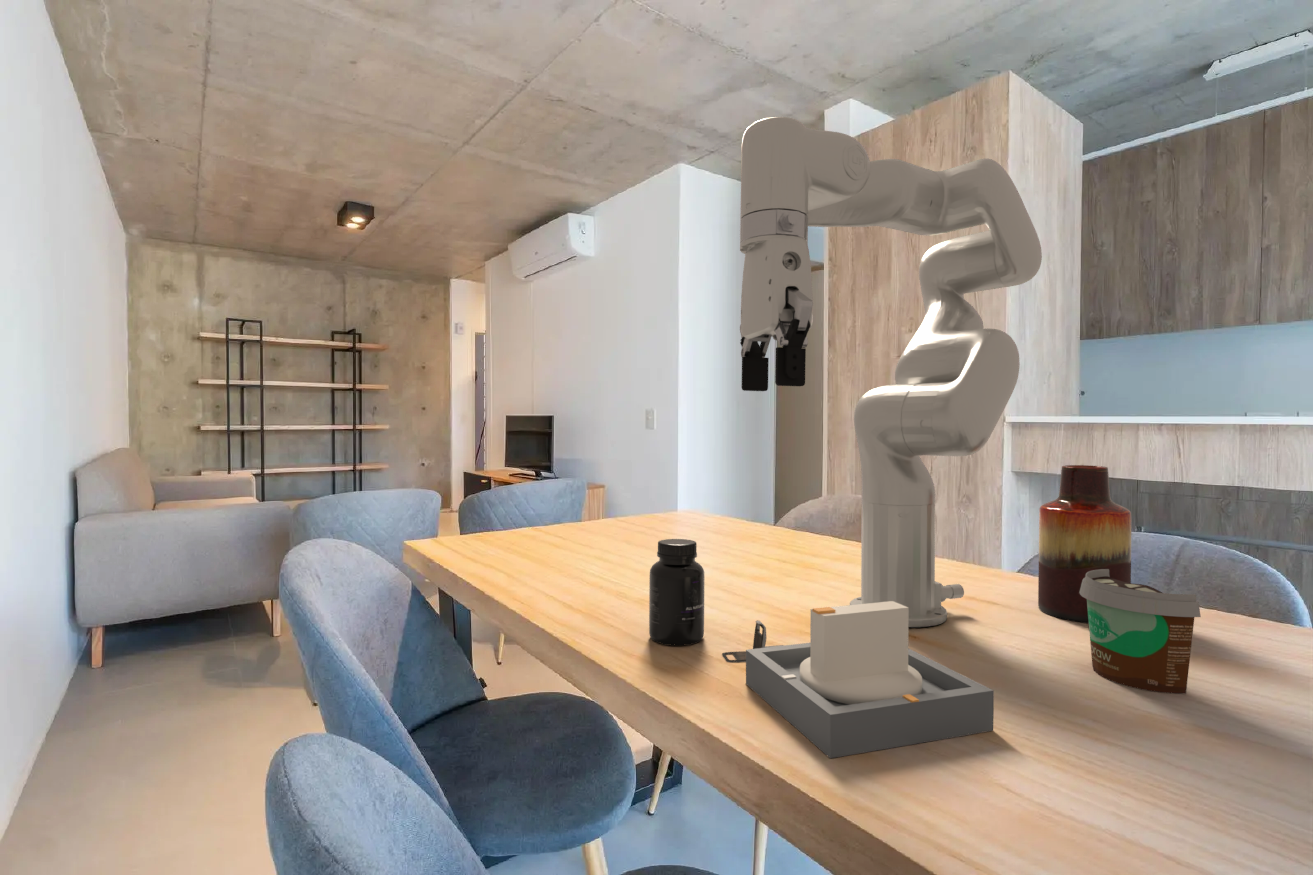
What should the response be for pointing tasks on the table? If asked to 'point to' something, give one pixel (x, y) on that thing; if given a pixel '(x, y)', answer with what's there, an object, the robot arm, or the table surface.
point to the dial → (860, 653)
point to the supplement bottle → (676, 594)
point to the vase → (1080, 540)
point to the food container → (1139, 633)
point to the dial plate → (870, 705)
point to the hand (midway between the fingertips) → (771, 388)
